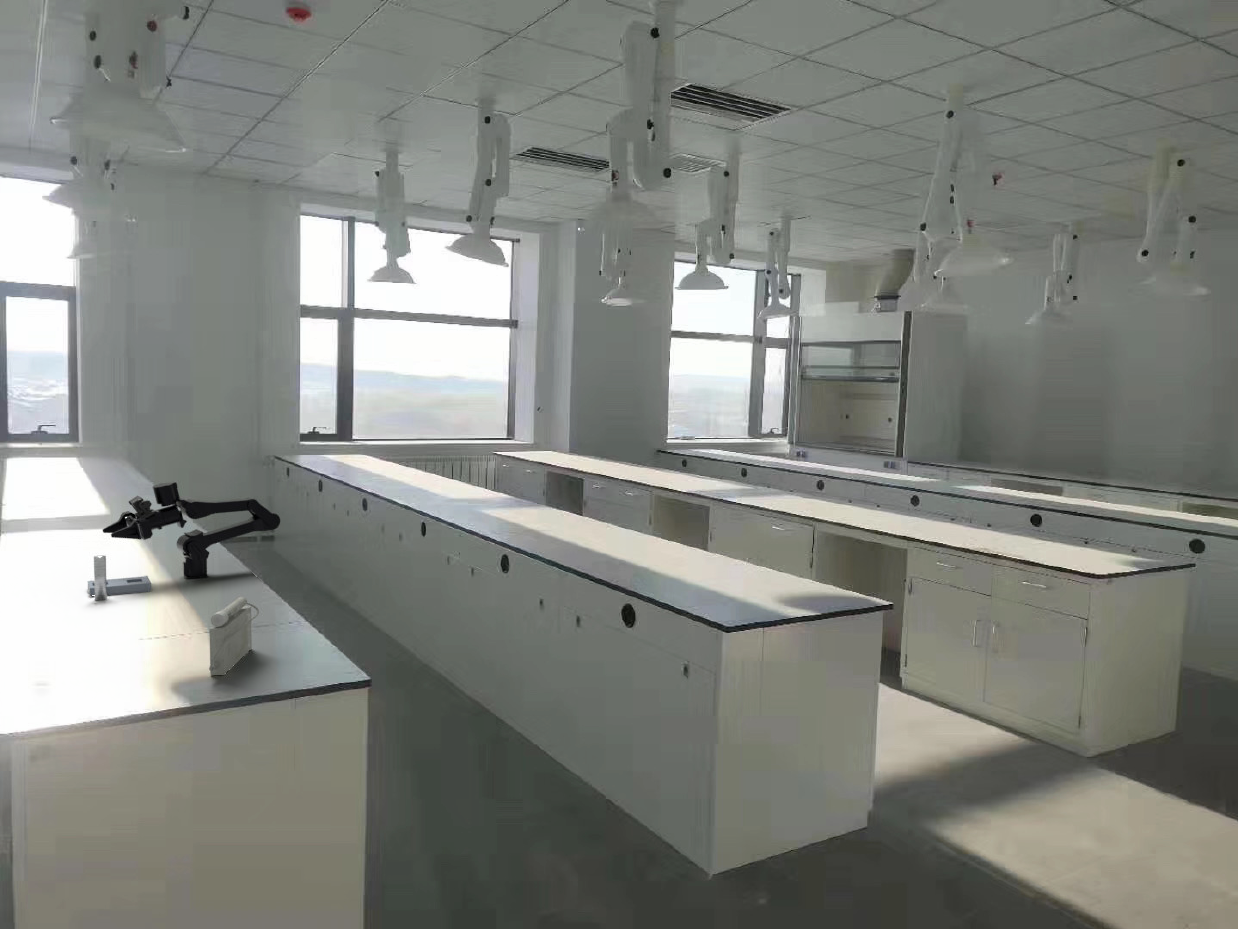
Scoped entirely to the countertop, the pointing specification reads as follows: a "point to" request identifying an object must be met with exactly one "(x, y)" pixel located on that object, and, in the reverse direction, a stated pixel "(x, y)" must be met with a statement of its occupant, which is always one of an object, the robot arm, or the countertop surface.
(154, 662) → the countertop surface
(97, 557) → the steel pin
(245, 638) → the geiger counter
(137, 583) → the socket block
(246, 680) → the countertop surface
